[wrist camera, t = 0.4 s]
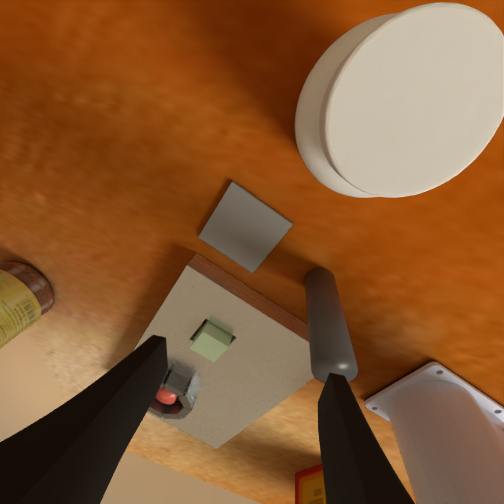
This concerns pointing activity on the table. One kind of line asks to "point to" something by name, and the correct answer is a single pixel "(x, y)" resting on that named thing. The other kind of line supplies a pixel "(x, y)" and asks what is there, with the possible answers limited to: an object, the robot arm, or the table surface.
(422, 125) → the supplement bottle
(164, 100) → the table surface
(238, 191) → the pad
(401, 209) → the table surface
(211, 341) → the pad
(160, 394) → the trip button
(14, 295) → the sauce bottle
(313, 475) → the baking soda box
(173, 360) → the panel
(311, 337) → the dark grey cylinder
